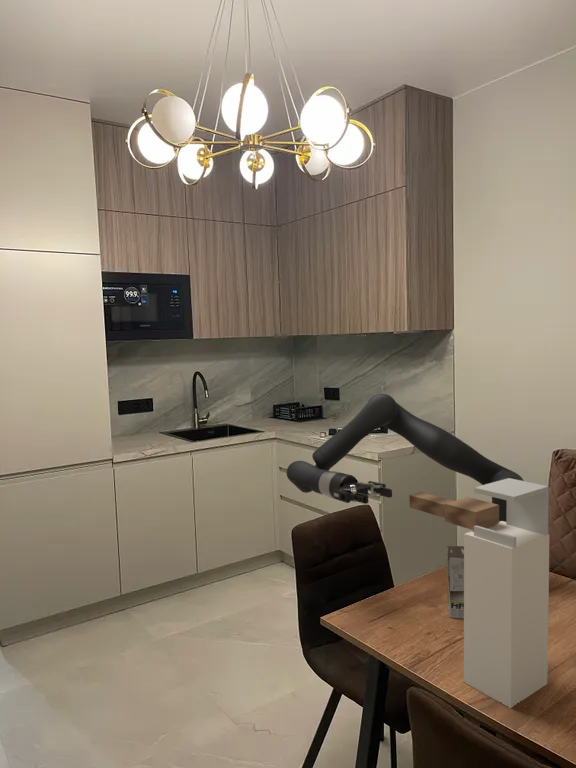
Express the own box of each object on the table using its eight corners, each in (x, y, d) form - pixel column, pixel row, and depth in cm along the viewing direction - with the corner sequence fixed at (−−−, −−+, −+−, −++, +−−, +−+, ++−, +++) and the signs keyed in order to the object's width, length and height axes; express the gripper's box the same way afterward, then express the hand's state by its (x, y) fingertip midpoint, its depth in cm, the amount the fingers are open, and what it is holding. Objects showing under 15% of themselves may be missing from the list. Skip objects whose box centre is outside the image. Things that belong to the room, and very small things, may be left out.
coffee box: (475, 620, 149) (475, 558, 148) (449, 618, 150) (449, 557, 149) (471, 603, 158) (471, 545, 157) (446, 602, 159) (446, 544, 158)
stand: (463, 682, 123) (464, 486, 119) (500, 660, 130) (502, 476, 127) (510, 708, 114) (512, 497, 110) (547, 683, 121) (550, 485, 118)
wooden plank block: (403, 509, 137) (403, 492, 137) (426, 502, 142) (426, 486, 141) (475, 531, 121) (475, 512, 120) (499, 523, 125) (499, 504, 125)
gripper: (318, 476, 159) (358, 487, 146) (356, 468, 168) (398, 477, 155) (319, 503, 160) (359, 516, 147) (357, 494, 168) (399, 505, 155)
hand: (379, 496), depth 151 cm, fingers open, 8 cm apart
